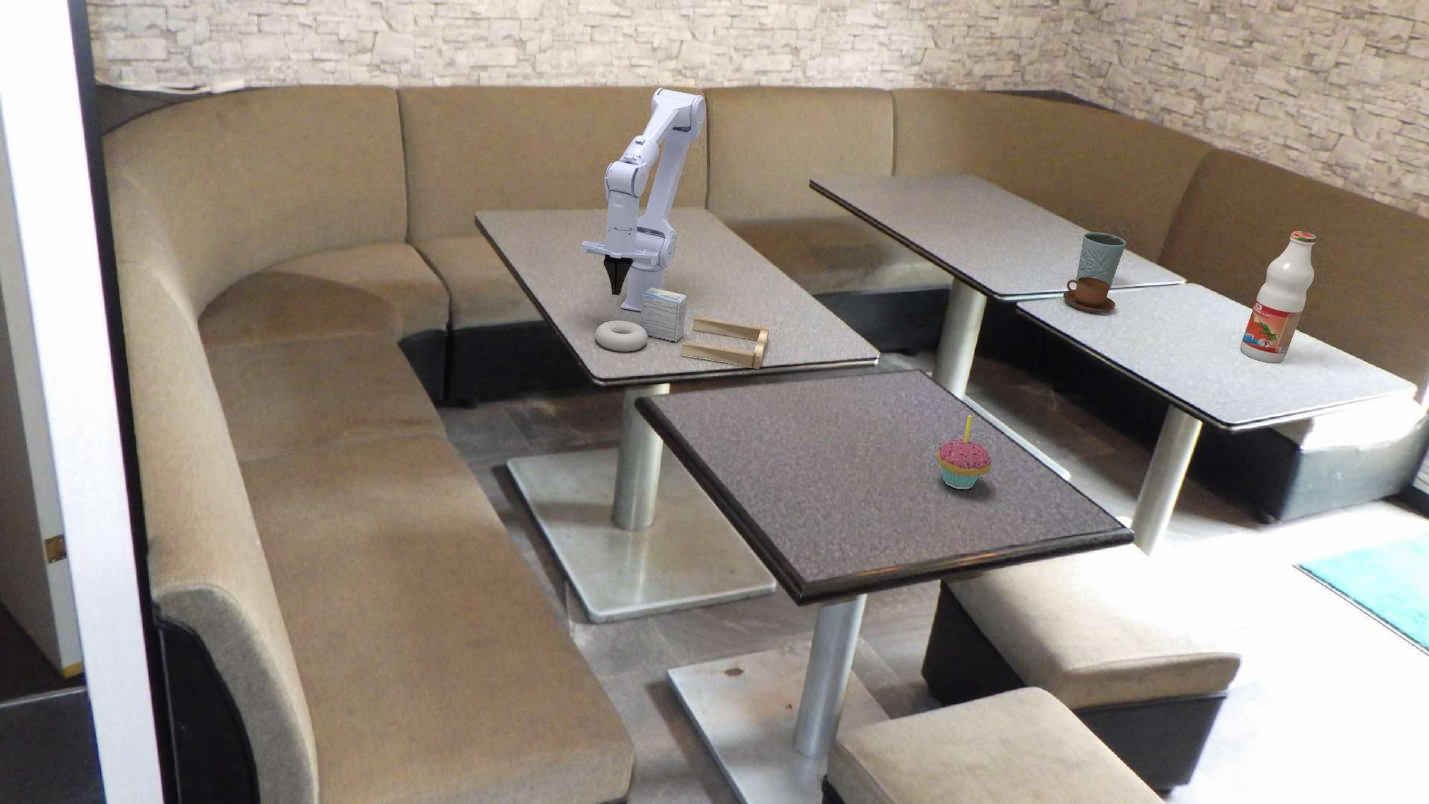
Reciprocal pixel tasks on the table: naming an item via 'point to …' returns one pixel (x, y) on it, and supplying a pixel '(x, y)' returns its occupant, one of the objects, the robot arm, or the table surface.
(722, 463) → the table surface
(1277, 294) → the fruit juice
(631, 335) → the donut
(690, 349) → the wooden u-shaped block
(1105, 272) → the grey green embossed tumbler
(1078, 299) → the cup and saucer
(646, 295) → the medicine box
